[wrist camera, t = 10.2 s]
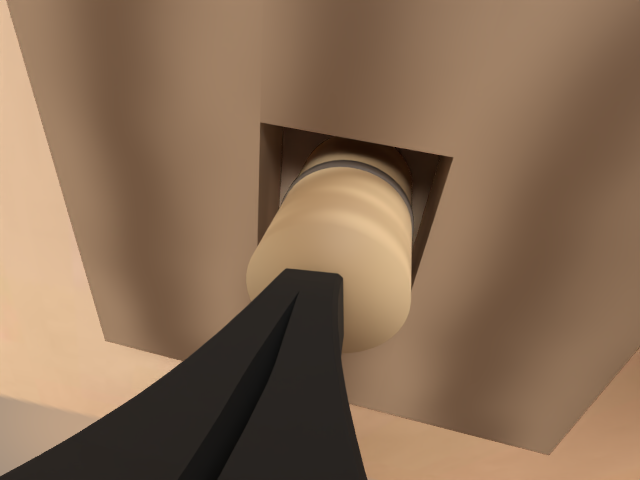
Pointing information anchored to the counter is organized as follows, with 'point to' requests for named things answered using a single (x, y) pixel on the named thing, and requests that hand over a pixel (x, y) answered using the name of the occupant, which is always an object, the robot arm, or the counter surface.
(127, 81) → the hole board
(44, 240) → the counter surface
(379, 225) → the oak peg
